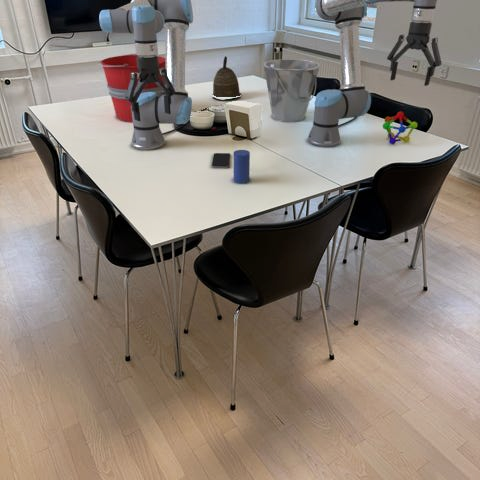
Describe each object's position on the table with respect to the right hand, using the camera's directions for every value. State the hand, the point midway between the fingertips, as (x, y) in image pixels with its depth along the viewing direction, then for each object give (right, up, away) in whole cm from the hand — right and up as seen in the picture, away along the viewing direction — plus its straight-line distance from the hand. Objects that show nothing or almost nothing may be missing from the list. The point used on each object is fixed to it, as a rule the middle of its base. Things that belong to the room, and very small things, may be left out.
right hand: (409, 82), depth 171 cm
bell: (-74, +30, +110) cm, 136 cm away
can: (-65, -38, +2) cm, 75 cm away
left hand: (-98, -15, -6) cm, 99 cm away
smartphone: (-74, -27, +19) cm, 81 cm away
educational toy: (+9, -15, +39) cm, 43 cm away
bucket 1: (-122, +9, +76) cm, 144 cm away
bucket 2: (-39, +7, +74) cm, 84 cm away
